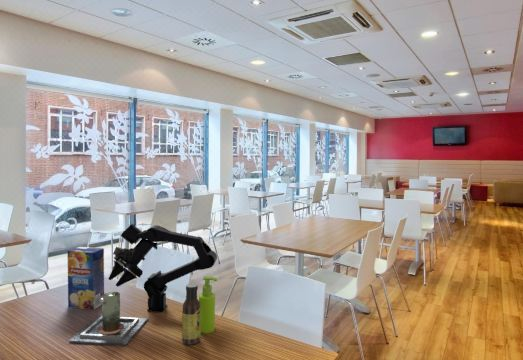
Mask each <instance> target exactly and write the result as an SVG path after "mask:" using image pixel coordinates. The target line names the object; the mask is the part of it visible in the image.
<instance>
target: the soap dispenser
mask: <svg viewBox="0 0 523 360" xmlns="http://www.w3.org/2000/svg"><path fill="white" fill-rule="evenodd" d="M202 280H204V285H202V293H200V294H199V295H198V301H199V302H200V306H201V313H200V315H201V319H200V334H210V333H213V332H214V331H215V327H216V326H215V324H216V323H215V322H216V321H215V319H216V294H215V293H214V292H212V291H213V285H211V283H210V282H211V281H213V282H217V281H218V280H219V278H218V277H214V276H204V277H203V278H202Z"/></svg>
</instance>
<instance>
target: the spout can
mask: <svg viewBox="0 0 523 360" xmlns="http://www.w3.org/2000/svg"><path fill="white" fill-rule="evenodd" d="M99 301H100V302H101V303H102V305H101V306H102V307H101V311H102V315H101V316H102V330H103V331H105V332H112V331H116V330H118V329H119V328H120V317H121V294H120V292H117V291H108V292H104V294H103V295H102V298H101V299H100V300H99Z"/></svg>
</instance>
